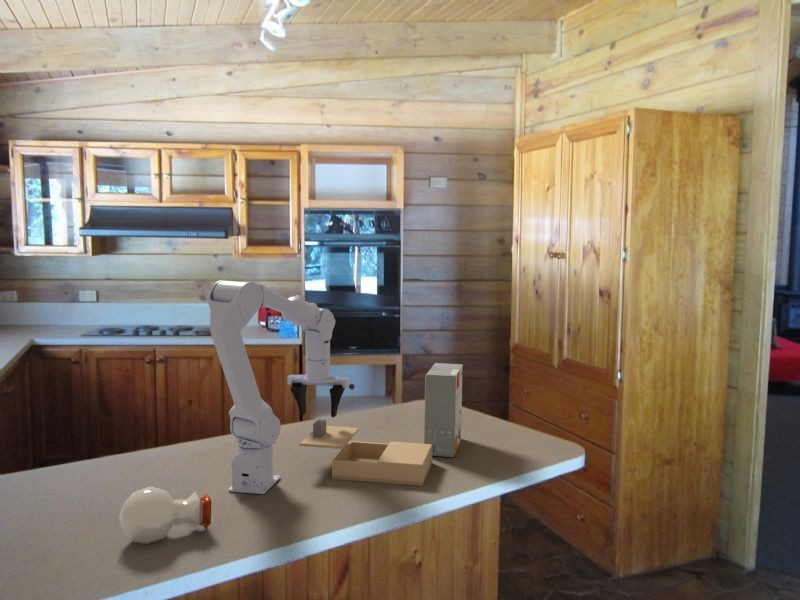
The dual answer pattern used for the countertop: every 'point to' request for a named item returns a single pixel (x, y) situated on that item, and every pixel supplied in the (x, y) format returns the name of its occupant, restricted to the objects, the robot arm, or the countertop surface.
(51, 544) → the countertop surface
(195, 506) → the potion bottle
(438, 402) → the hard drive box
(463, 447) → the countertop surface
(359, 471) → the carton
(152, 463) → the countertop surface
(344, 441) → the lid flap
